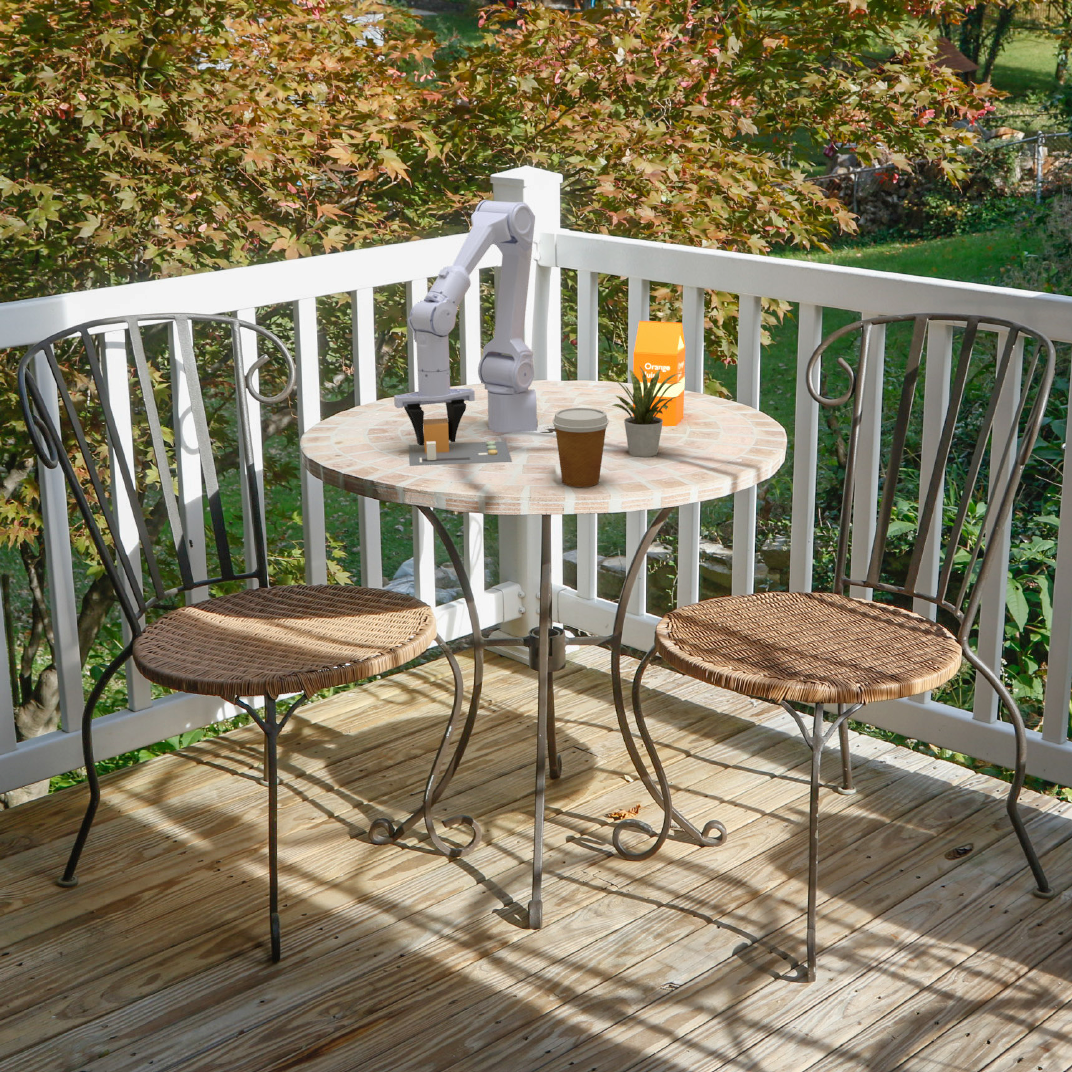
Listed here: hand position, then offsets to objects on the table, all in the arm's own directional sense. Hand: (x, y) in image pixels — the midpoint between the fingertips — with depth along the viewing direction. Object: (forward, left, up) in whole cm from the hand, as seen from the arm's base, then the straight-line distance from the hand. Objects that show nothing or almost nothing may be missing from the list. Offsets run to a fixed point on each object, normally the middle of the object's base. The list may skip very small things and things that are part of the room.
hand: (436, 442), depth 238 cm
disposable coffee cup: (-24, +19, -3) cm, 31 cm away
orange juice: (-45, -21, -3) cm, 50 cm away
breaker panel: (-4, +3, -3) cm, 6 cm away
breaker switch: (+1, +7, -1) cm, 7 cm away
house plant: (-39, +3, -3) cm, 39 cm away
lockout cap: (0, 0, -1) cm, 1 cm away
